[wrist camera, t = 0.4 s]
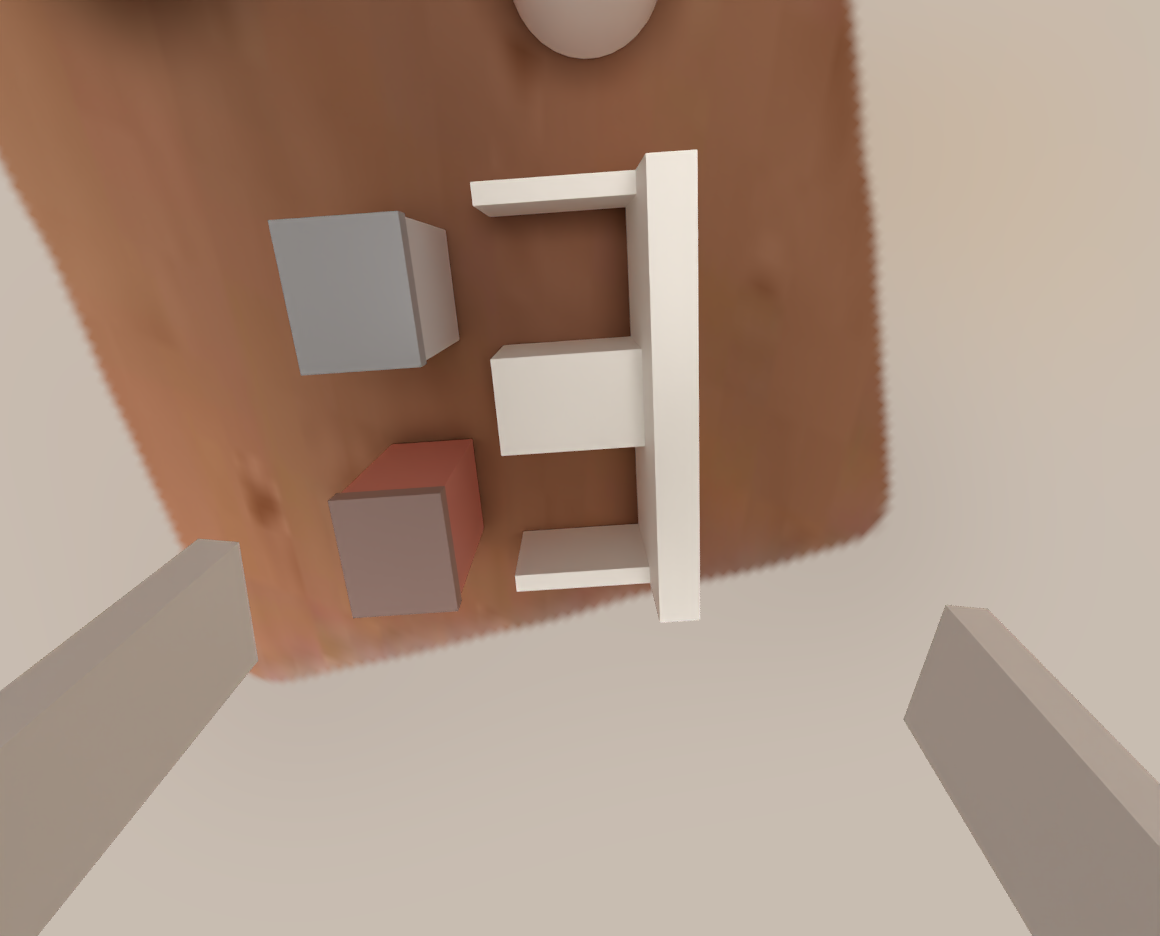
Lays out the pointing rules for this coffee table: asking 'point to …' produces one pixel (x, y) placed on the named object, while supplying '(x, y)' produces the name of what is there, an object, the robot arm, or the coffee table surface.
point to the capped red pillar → (409, 529)
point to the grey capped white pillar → (365, 291)
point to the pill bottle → (585, 24)
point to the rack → (617, 386)
